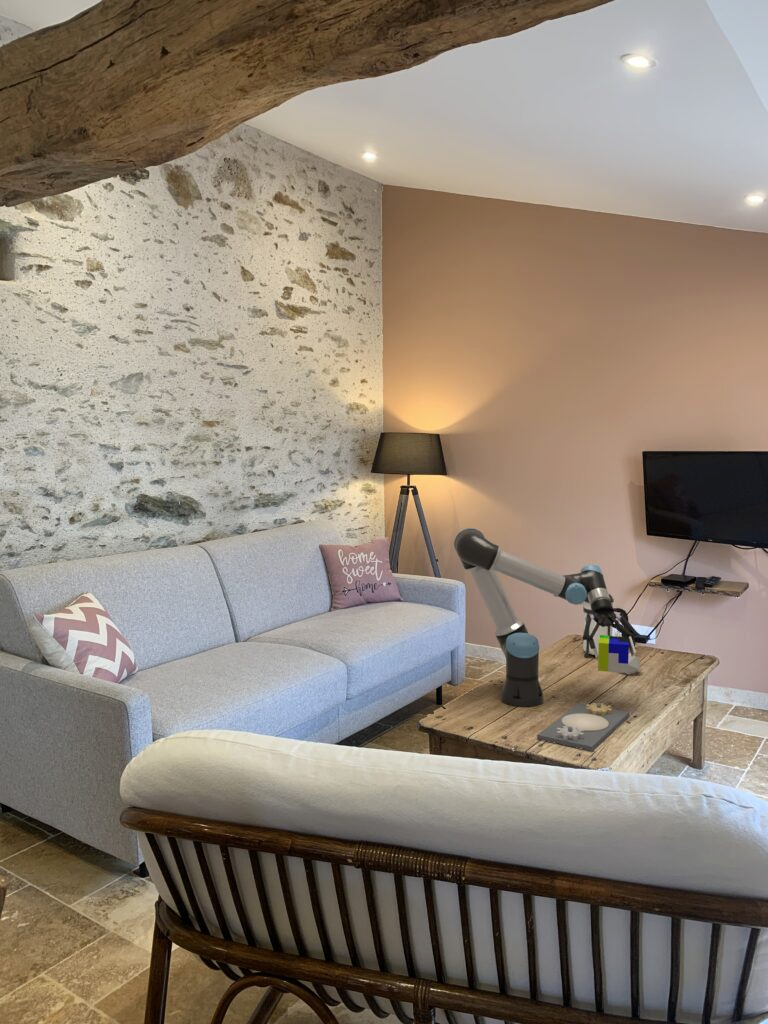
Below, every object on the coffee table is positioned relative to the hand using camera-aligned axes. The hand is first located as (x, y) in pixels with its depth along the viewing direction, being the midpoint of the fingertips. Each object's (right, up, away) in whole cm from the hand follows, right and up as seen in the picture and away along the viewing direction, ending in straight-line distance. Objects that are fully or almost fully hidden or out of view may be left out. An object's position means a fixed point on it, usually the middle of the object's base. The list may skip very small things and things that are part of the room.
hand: (616, 655), depth 286 cm
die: (+17, -14, +41) cm, 47 cm away
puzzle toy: (-1, -5, +2) cm, 5 cm away
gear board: (-15, -21, -16) cm, 30 cm away
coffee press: (+12, -12, +67) cm, 69 cm away
